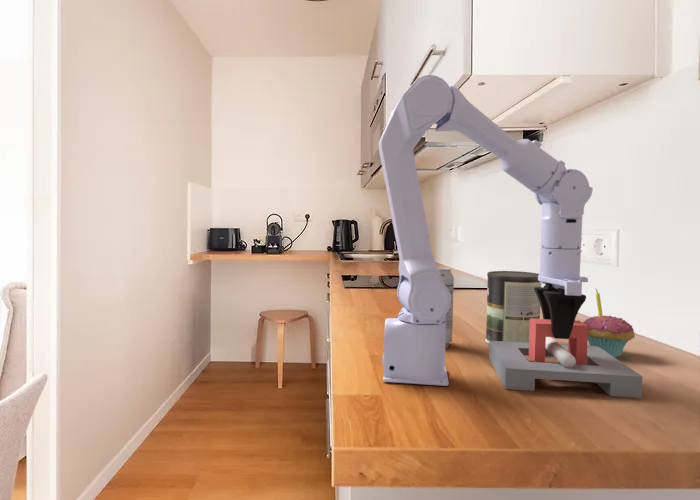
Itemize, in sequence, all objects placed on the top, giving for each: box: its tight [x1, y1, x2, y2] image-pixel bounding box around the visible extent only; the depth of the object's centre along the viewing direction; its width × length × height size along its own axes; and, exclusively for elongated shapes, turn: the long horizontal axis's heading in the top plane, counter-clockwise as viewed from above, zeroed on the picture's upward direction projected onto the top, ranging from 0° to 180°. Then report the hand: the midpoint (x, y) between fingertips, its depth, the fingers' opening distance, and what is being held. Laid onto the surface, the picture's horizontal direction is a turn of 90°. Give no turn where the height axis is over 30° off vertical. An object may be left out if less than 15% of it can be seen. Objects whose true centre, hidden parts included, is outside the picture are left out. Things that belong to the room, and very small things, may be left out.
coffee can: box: [484, 270, 542, 345], centre depth 91 cm, size 10×10×14 cm
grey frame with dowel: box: [488, 337, 643, 399], centre depth 72 cm, size 18×16×5 cm
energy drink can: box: [438, 266, 455, 348], centre depth 89 cm, size 6×6×15 cm
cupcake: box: [582, 288, 635, 358], centre depth 84 cm, size 9×8×12 cm
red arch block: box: [529, 318, 589, 365], centre depth 72 cm, size 8×4×6 cm, turn 81°
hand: (556, 334), depth 72 cm, fingers closed on red arch block, 4 cm apart
